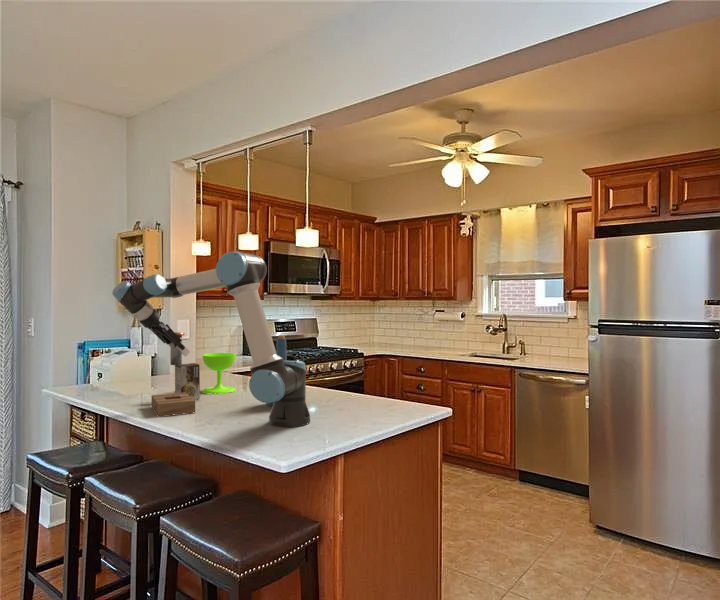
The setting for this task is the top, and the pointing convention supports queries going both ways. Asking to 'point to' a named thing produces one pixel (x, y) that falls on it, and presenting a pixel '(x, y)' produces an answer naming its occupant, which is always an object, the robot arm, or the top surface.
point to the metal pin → (176, 352)
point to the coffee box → (188, 379)
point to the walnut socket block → (173, 404)
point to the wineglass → (219, 369)
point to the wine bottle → (280, 353)
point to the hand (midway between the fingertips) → (184, 353)
